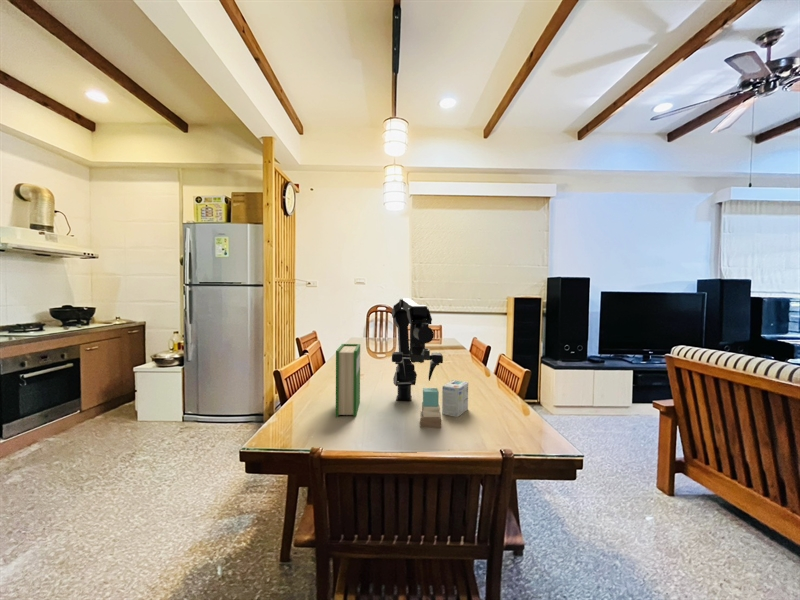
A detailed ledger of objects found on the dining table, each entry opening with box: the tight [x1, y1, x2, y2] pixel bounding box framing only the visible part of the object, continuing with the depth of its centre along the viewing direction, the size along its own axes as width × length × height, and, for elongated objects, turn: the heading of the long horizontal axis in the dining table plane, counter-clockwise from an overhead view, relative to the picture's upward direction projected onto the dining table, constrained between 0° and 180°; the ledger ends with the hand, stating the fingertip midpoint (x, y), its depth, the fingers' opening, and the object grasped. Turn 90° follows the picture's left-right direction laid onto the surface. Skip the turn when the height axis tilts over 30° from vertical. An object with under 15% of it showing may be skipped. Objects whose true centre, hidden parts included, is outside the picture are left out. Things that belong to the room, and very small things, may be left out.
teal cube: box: [422, 387, 440, 407], centre depth 124 cm, size 5×5×5 cm
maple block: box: [421, 401, 441, 417], centre depth 124 cm, size 6×6×4 cm
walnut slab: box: [419, 410, 442, 429], centre depth 124 cm, size 7×7×4 cm
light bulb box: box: [441, 379, 469, 418], centre depth 137 cm, size 11×7×11 cm, turn 149°
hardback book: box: [335, 343, 361, 418], centre depth 139 cm, size 18×7×24 cm, turn 2°
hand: (416, 380), depth 134 cm, fingers open, 9 cm apart
